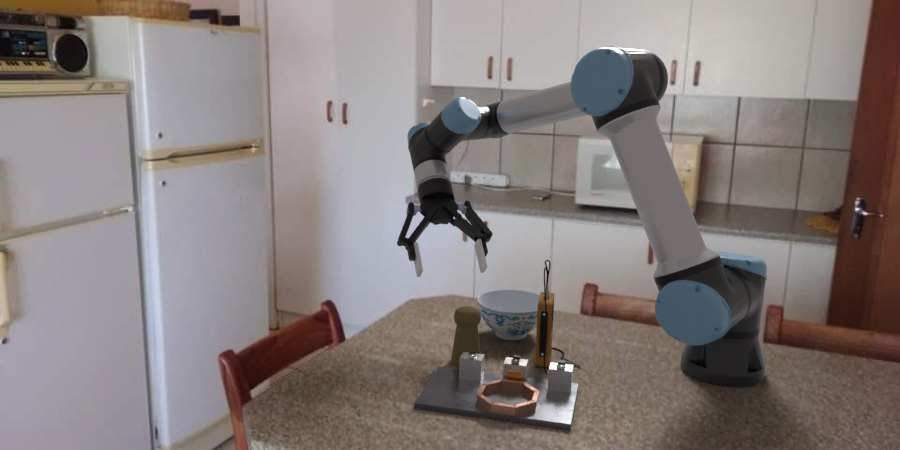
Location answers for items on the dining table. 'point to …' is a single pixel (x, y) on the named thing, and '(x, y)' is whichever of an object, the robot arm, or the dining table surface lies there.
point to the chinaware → (509, 312)
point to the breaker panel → (502, 392)
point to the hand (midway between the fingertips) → (452, 271)
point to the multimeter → (546, 327)
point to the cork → (465, 332)
